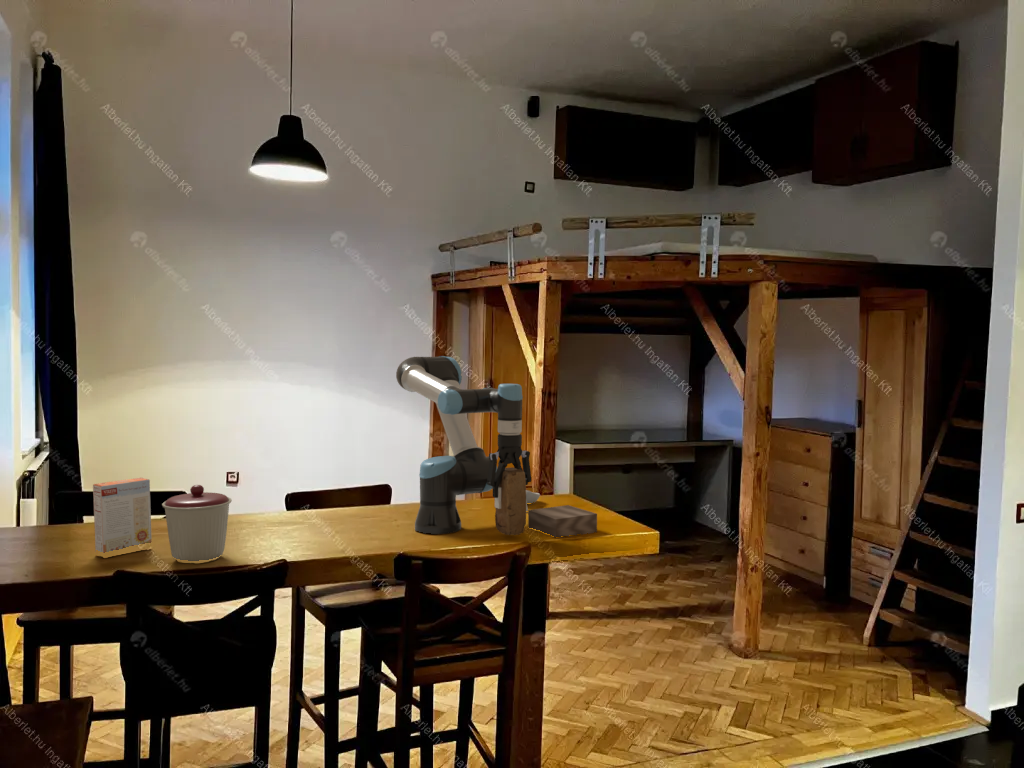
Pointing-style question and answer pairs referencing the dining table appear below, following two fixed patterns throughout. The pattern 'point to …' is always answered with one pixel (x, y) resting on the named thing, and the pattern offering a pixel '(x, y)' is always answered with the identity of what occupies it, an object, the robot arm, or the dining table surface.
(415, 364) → the robot arm
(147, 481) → the cracker box
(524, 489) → the block
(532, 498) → the spoon rest
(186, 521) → the canister
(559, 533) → the base block
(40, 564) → the dining table surface
